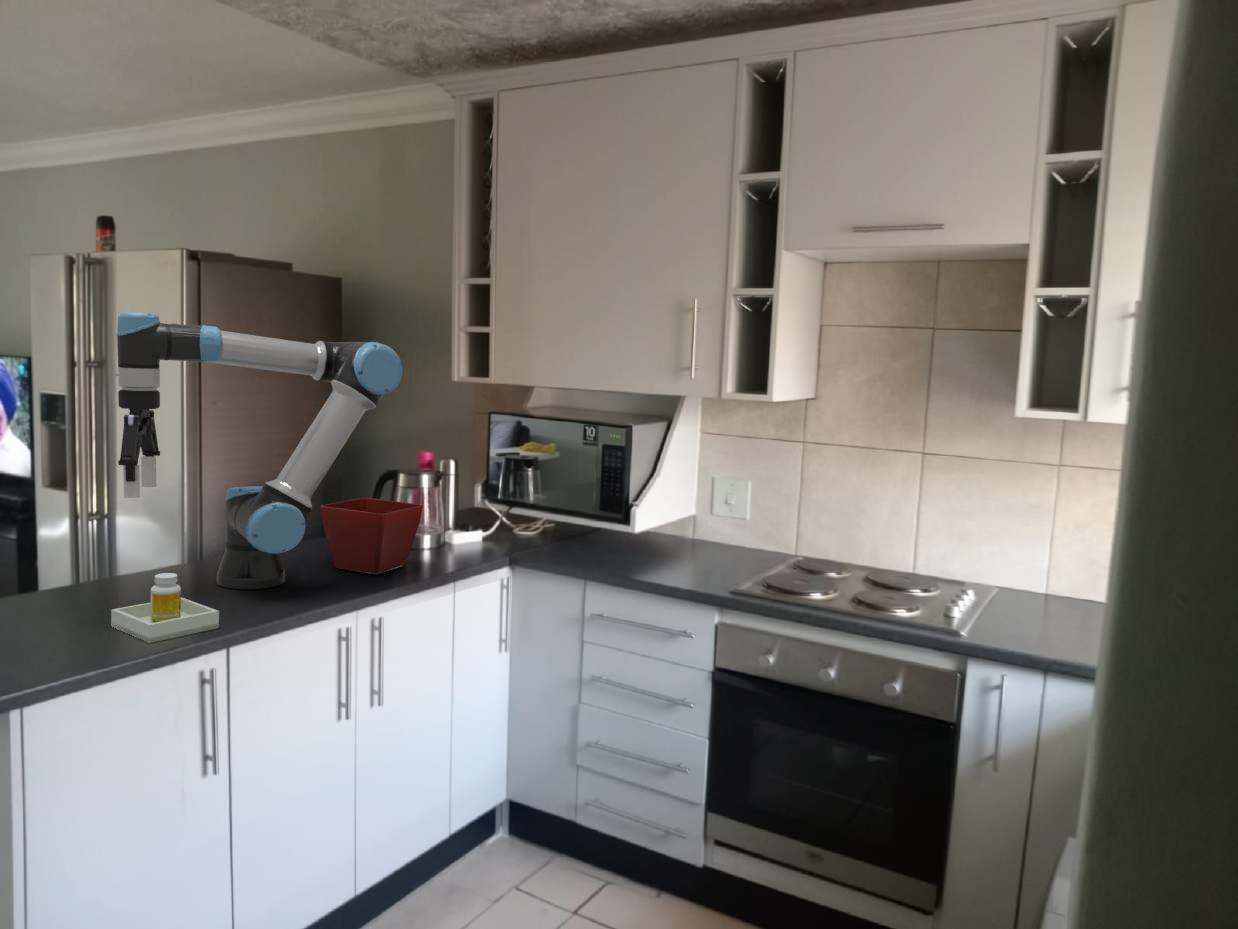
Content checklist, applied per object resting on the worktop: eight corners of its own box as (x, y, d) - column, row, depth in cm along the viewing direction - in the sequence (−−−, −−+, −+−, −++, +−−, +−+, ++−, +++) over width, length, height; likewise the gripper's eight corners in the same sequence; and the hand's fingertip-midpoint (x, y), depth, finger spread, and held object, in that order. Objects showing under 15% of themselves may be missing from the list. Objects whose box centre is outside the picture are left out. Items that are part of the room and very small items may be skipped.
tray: (180, 613, 191) (180, 596, 190) (218, 628, 183) (218, 611, 183) (111, 627, 179) (111, 609, 179) (149, 643, 172) (149, 625, 171)
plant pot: (361, 557, 251) (364, 496, 249) (422, 566, 245) (424, 504, 243) (316, 570, 234) (318, 505, 232) (379, 581, 227) (382, 514, 225)
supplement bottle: (146, 621, 181) (146, 574, 180) (175, 617, 185) (175, 570, 184) (155, 628, 177) (155, 579, 176) (184, 624, 181) (185, 576, 180)
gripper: (135, 385, 198) (136, 482, 200) (100, 391, 174) (102, 502, 176) (173, 386, 200) (174, 482, 202) (143, 393, 176) (145, 502, 178)
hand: (140, 492), depth 189 cm, fingers open, 13 cm apart
